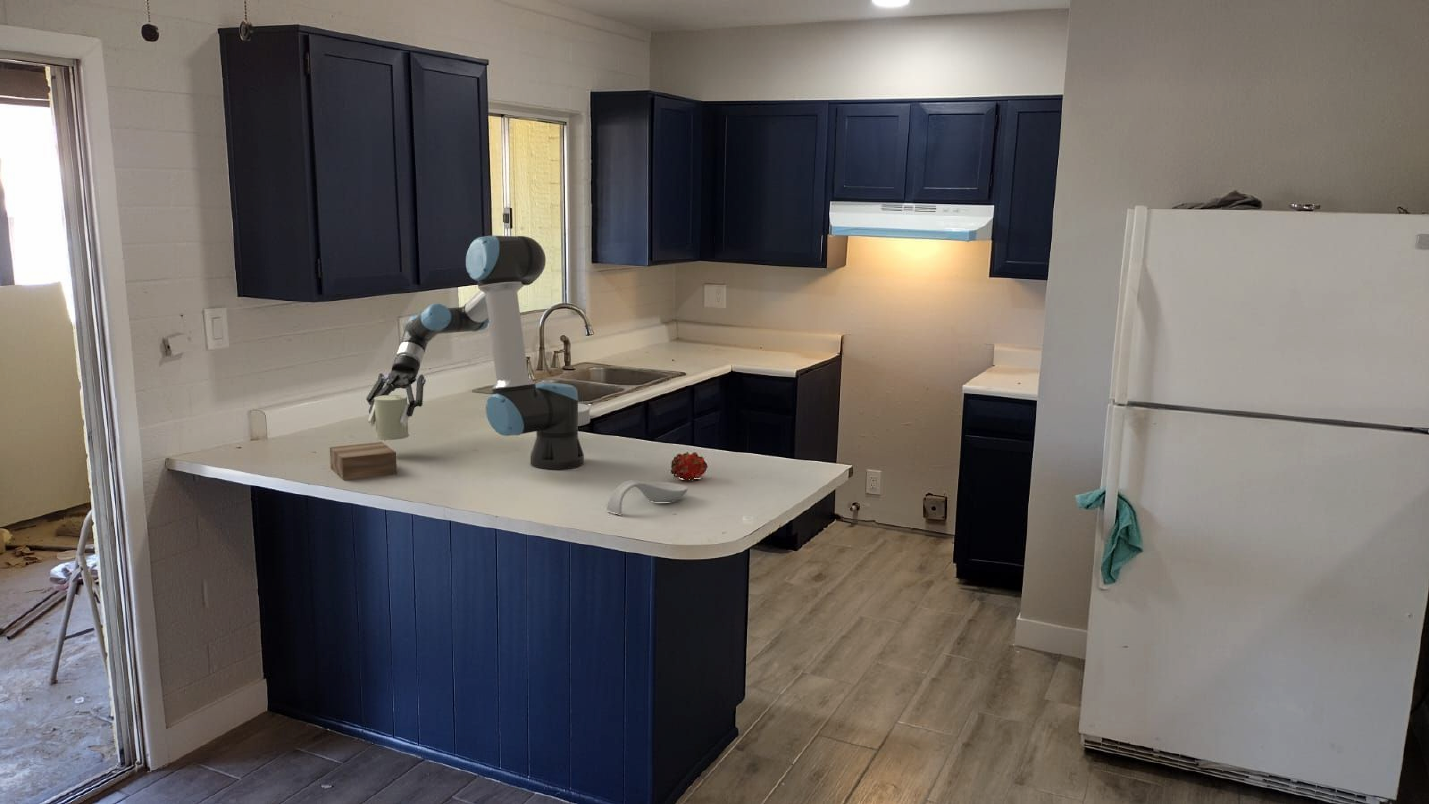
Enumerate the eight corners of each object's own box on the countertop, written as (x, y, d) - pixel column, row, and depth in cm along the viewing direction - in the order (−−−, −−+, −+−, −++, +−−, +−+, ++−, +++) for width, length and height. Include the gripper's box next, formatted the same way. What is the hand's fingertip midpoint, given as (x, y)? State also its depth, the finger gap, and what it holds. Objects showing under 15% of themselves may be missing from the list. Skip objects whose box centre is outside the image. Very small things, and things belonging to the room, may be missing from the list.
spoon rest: (662, 492, 265) (662, 465, 264) (696, 500, 258) (697, 473, 256) (596, 511, 247) (596, 482, 245) (631, 521, 239) (631, 491, 238)
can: (399, 440, 289) (397, 399, 287) (369, 439, 291) (367, 397, 289) (414, 434, 298) (413, 393, 296) (385, 432, 300) (384, 392, 298)
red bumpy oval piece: (666, 488, 274) (702, 488, 281) (683, 475, 268) (719, 476, 275) (660, 459, 277) (695, 460, 284) (676, 446, 271) (712, 447, 278)
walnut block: (396, 473, 276) (396, 452, 274) (343, 480, 268) (342, 457, 267) (382, 462, 287) (381, 442, 286) (330, 468, 280) (329, 447, 278)
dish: (541, 431, 335) (540, 416, 334) (514, 419, 353) (514, 405, 352) (601, 424, 347) (601, 410, 346) (573, 413, 365) (573, 399, 364)
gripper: (446, 370, 305) (427, 432, 293) (377, 367, 308) (355, 430, 295) (438, 354, 299) (418, 418, 286) (368, 352, 302) (345, 415, 289)
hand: (386, 424), depth 291 cm, fingers closed on can, 9 cm apart
